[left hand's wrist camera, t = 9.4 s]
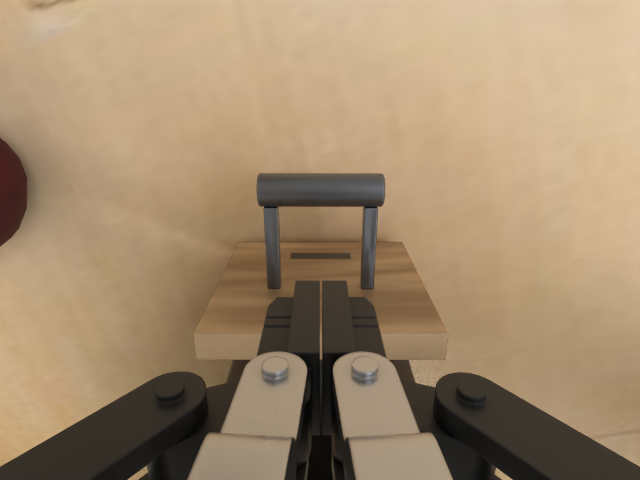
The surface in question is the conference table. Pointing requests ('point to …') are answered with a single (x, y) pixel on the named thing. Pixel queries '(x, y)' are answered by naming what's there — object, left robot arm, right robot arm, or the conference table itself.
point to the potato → (11, 192)
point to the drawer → (316, 265)
